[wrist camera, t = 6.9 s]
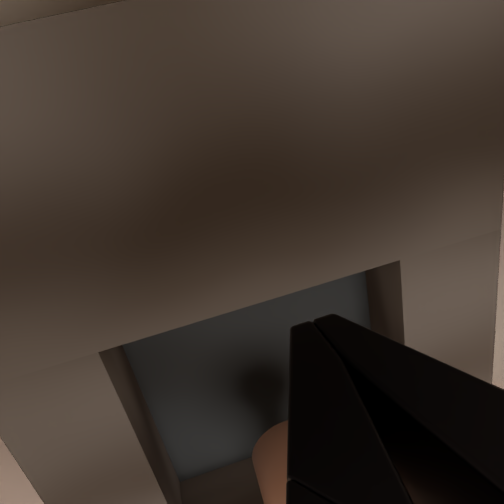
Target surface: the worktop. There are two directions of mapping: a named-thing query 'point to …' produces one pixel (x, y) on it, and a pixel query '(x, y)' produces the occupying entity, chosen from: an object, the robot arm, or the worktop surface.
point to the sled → (272, 463)
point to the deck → (231, 222)
